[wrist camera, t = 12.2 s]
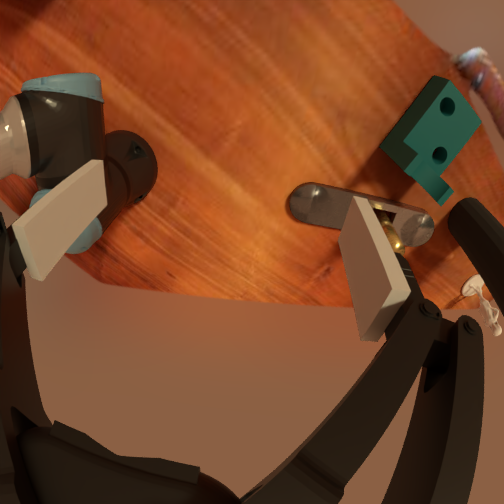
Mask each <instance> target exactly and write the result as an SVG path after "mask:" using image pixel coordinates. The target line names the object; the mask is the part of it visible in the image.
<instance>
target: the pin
mask: <svg viewBox="0 0 504 504" xmlns="http://www.w3.org/2000/svg"><path fill="white" fill-rule="evenodd" d="M373 211H374V213H375V215H376V217H377V219H378V221H379V223H380V225H381V227H382V229H383V231H384V233H385V235H386V237H387V239H388V241H389V243H390V245H391V247H392V249H393V251H394V252H397V253H400V254H401V255H402V256H403V255H404V253H405V247H404V245H403V243H402V242H401V240H400V238H399V236H398V234H397V232H396V230H395V229H394V227H393V225H392V223H391V221H390V220H389V218H388V216H387V214H386V213H385V211H384V210H381V209H377V208H375V209H373Z"/></svg>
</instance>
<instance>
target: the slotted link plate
mask: <svg viewBox="0 0 504 504" xmlns="http://www.w3.org/2000/svg"><path fill="white" fill-rule="evenodd" d="M353 196H357V197H361V198H365V199H367V200H368V202H369V204H370V206H371V207H372V209H373V208H377V209H381V210H386V211H390V212H391V213H390V216H389V220H390V221H391V223H392V225H393V227H394V229H395V230H396V232H397V234H398V236H399V238H400V240H401V242H402V243H403V245H406V246H411V247H417V246H420V245H422V244H424V243H426V242H427V241H428V240H429V239H430V237H431V236H432V234H433V232H434V222H433V219H432V218H431V217H430V215H429V214H428V213H427V212H426V211H425V210H424V209H422V208H418V207H415V206H411V205H408V204H404V203H400V202H397V201H393V200H389V199H385V198H381V197H377V196H373V195H369V194H365V193H361V192H356V191H352V190H348V189H343V188H339V187H334V186H329V185H325V184H320V183H314V182H308V183H304V184H301V185H299V186H298V187H296V188H295V189H294V191H293V192H292V194H291V196H290V210H291V212H292V214H293V215H294V217H295V218H297V219H298V220H300V221H302V222H305V223H310V224H315V225H321V226H326V227H331V228H337V229H342V227H343V224H344V222H345V219H346V216H347V213H348V210H349V207H350V204H351V201H352V198H353Z"/></svg>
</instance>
